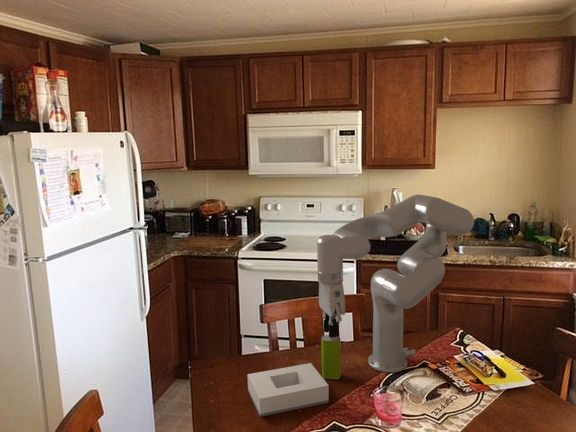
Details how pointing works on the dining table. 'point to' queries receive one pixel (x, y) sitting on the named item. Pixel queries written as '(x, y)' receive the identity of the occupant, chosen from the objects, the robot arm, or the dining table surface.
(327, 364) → the vape
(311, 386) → the charging dock
